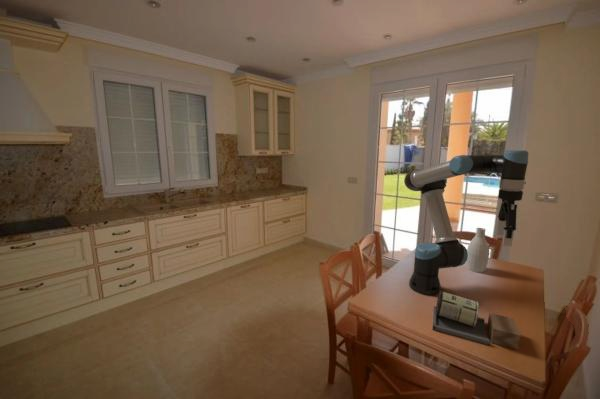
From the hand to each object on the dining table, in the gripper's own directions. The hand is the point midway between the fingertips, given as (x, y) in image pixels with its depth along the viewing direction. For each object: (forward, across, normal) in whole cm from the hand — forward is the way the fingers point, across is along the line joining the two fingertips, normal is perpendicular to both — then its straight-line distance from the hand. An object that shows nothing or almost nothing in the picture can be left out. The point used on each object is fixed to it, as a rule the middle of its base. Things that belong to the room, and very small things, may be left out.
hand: (503, 240), depth 111 cm
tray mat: (+35, -15, +14) cm, 40 cm away
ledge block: (+35, -15, -1) cm, 38 cm away
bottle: (+35, +49, +2) cm, 60 cm away
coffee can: (+29, -12, +8) cm, 33 cm away
